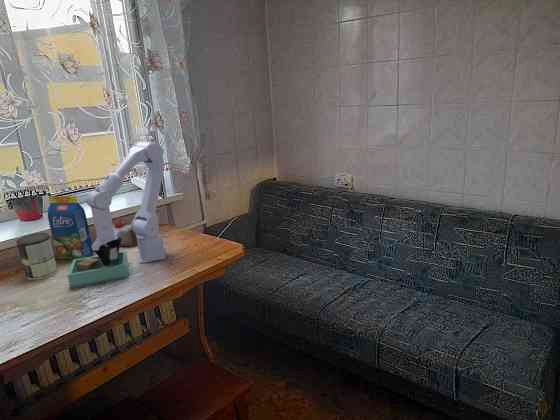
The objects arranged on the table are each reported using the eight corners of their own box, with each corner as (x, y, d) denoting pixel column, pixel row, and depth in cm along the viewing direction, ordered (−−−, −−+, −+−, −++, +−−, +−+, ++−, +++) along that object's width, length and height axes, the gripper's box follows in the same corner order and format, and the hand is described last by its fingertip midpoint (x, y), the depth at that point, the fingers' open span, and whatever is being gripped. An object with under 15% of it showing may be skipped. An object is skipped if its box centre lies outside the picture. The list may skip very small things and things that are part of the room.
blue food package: (68, 253, 170) (54, 194, 163) (94, 254, 168) (81, 193, 161) (57, 259, 164) (42, 198, 157) (84, 260, 162) (70, 198, 155)
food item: (104, 247, 175) (100, 225, 172) (116, 240, 182) (111, 218, 179) (133, 248, 171) (129, 225, 168) (143, 241, 179) (140, 219, 176)
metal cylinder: (110, 263, 151) (107, 245, 149) (122, 264, 149) (119, 245, 147) (102, 269, 146) (98, 250, 144) (114, 270, 145) (110, 251, 143)
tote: (128, 263, 156) (126, 250, 155) (127, 278, 144) (125, 264, 142) (76, 272, 151) (73, 259, 150) (70, 289, 138) (67, 275, 137)
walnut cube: (90, 271, 149) (87, 258, 148) (101, 272, 147) (98, 259, 146) (79, 277, 145) (76, 264, 143) (90, 278, 143) (87, 265, 141)
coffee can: (19, 280, 148) (9, 243, 144) (36, 268, 157) (27, 233, 153) (47, 279, 147) (38, 242, 143) (63, 267, 157) (54, 231, 153)
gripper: (102, 232, 136) (110, 270, 140) (125, 218, 149) (131, 253, 153) (82, 232, 137) (91, 270, 141) (107, 218, 151) (114, 253, 155)
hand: (111, 261), depth 147 cm, fingers closed on metal cylinder, 5 cm apart
